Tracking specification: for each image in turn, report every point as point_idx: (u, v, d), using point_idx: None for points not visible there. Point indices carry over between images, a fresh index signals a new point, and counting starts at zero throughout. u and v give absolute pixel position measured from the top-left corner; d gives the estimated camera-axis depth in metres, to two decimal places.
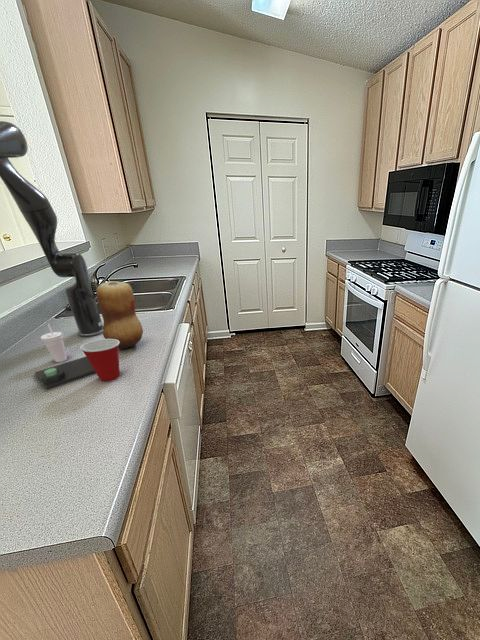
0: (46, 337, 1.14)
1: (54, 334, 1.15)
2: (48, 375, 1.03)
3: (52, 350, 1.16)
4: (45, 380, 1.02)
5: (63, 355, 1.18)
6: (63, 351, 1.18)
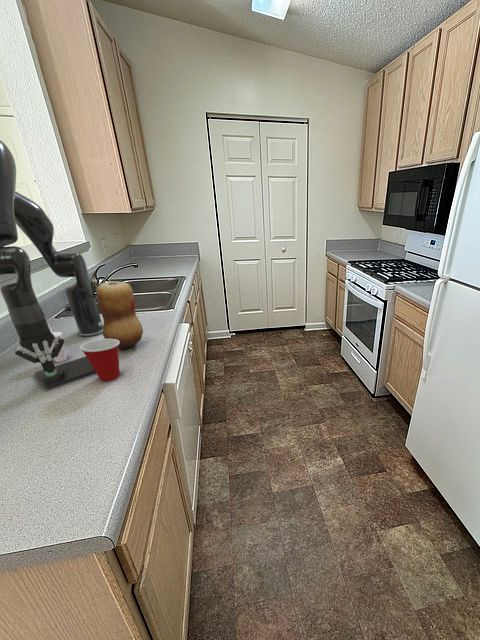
0: None
1: (54, 334, 1.15)
2: (48, 376, 1.03)
3: None
4: (45, 380, 1.02)
5: (63, 355, 1.18)
6: (63, 351, 1.18)
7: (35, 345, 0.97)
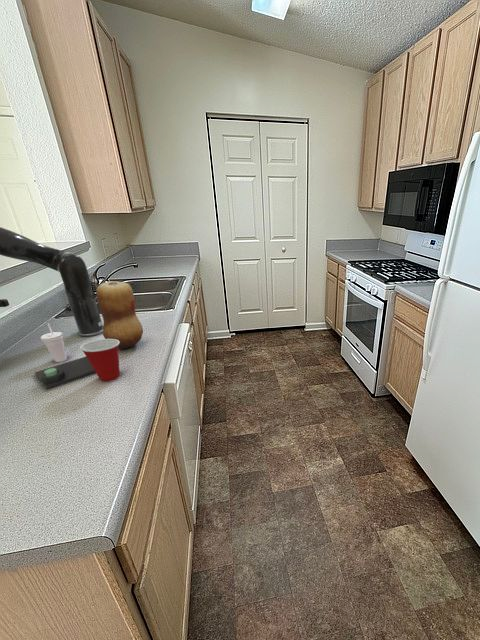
0: (46, 337, 1.14)
1: (54, 334, 1.15)
2: (48, 375, 1.03)
3: (52, 350, 1.16)
4: (45, 380, 1.02)
5: (63, 355, 1.18)
6: (63, 351, 1.18)
7: None
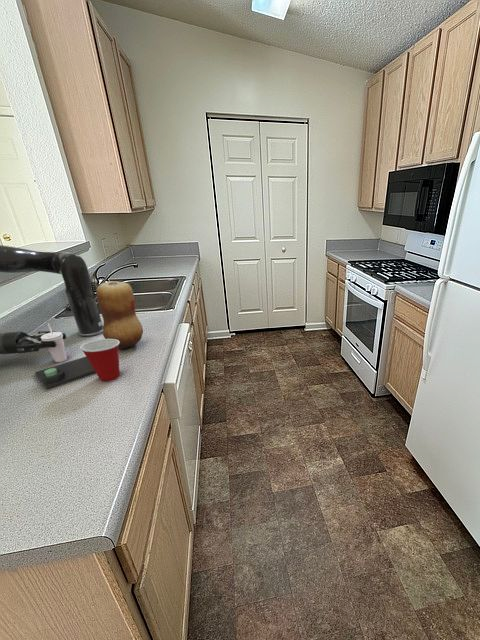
0: (46, 337, 1.14)
1: (54, 334, 1.15)
2: (48, 375, 1.03)
3: (52, 350, 1.16)
4: (45, 380, 1.02)
5: (63, 355, 1.18)
6: (63, 351, 1.18)
7: None
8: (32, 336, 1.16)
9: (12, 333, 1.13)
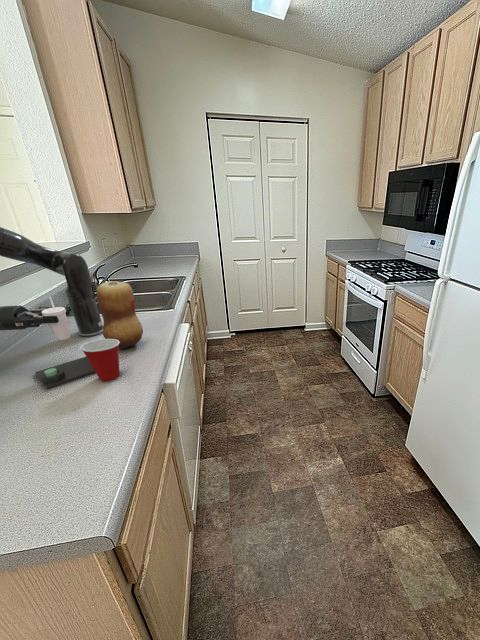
0: (47, 312, 1.03)
1: (56, 309, 1.05)
2: (48, 375, 1.03)
3: (54, 327, 1.05)
4: (45, 380, 1.02)
5: (66, 332, 1.08)
6: (66, 328, 1.08)
7: None
8: (32, 311, 1.05)
9: (10, 307, 1.03)
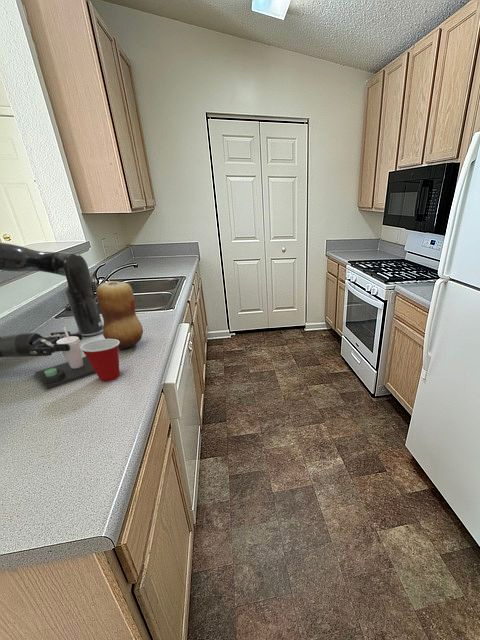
0: (62, 342, 1.06)
1: (70, 339, 1.08)
2: (48, 375, 1.03)
3: (68, 356, 1.08)
4: (45, 380, 1.02)
5: (80, 360, 1.11)
6: (80, 357, 1.11)
7: None
8: (47, 338, 1.08)
9: (25, 335, 1.05)
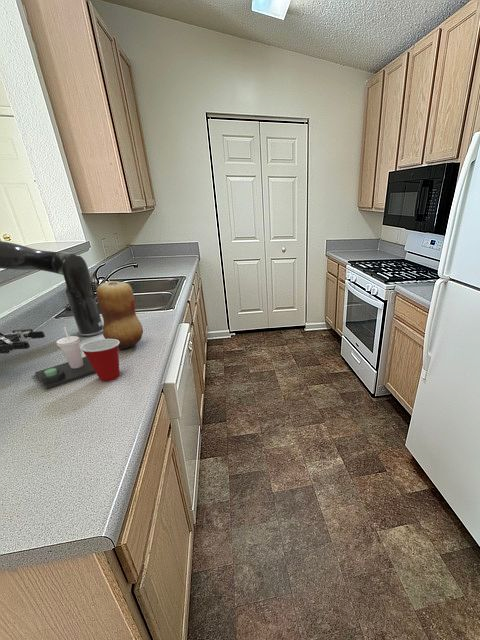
0: (62, 342, 1.06)
1: (70, 339, 1.08)
2: (48, 375, 1.03)
3: (68, 356, 1.08)
4: (45, 380, 1.02)
5: (80, 361, 1.11)
6: (80, 357, 1.11)
7: None
8: (7, 335, 1.06)
9: None
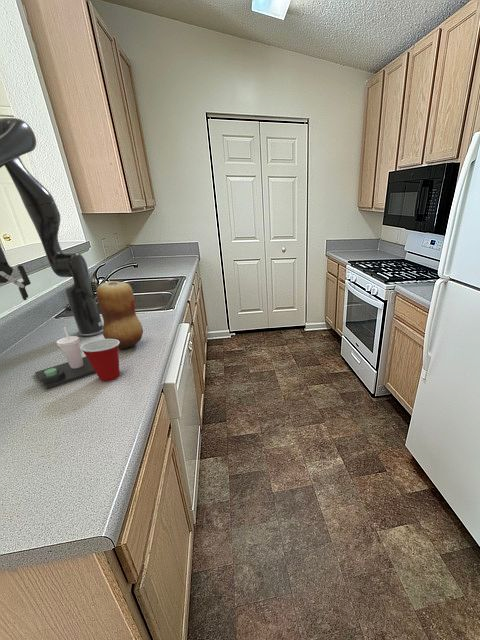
0: (62, 342, 1.06)
1: (70, 339, 1.08)
2: (48, 375, 1.03)
3: (68, 356, 1.08)
4: (45, 380, 1.02)
5: (80, 361, 1.11)
6: (80, 357, 1.11)
7: None
8: None
9: None
